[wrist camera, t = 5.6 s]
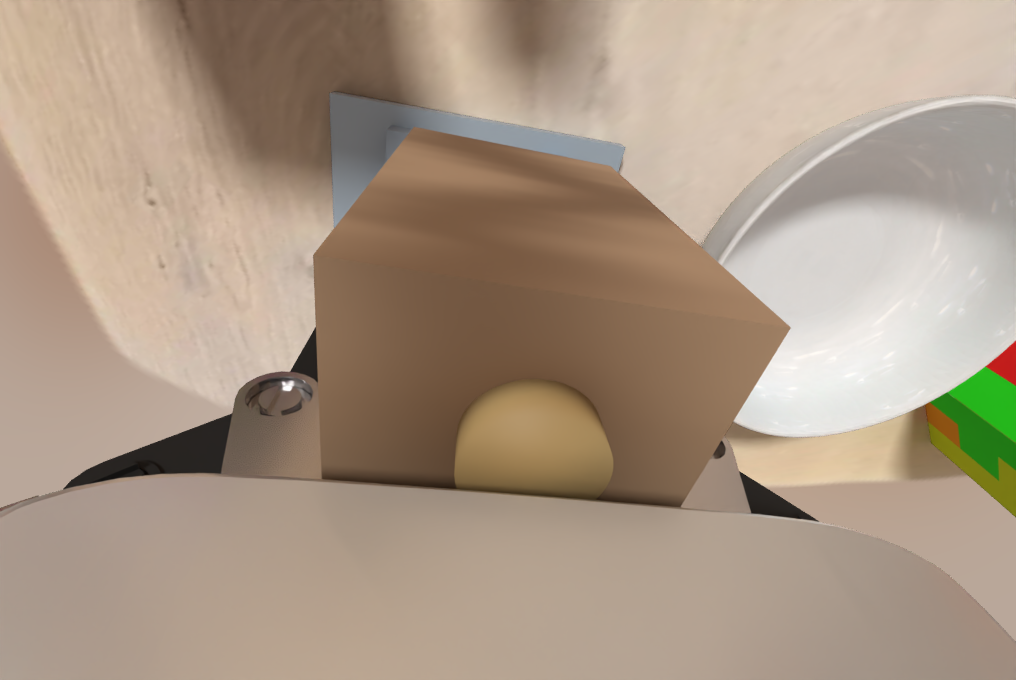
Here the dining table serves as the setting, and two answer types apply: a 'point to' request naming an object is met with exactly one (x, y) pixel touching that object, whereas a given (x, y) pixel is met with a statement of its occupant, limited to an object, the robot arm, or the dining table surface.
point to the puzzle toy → (981, 427)
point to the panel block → (526, 331)
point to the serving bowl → (879, 262)
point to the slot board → (384, 125)
